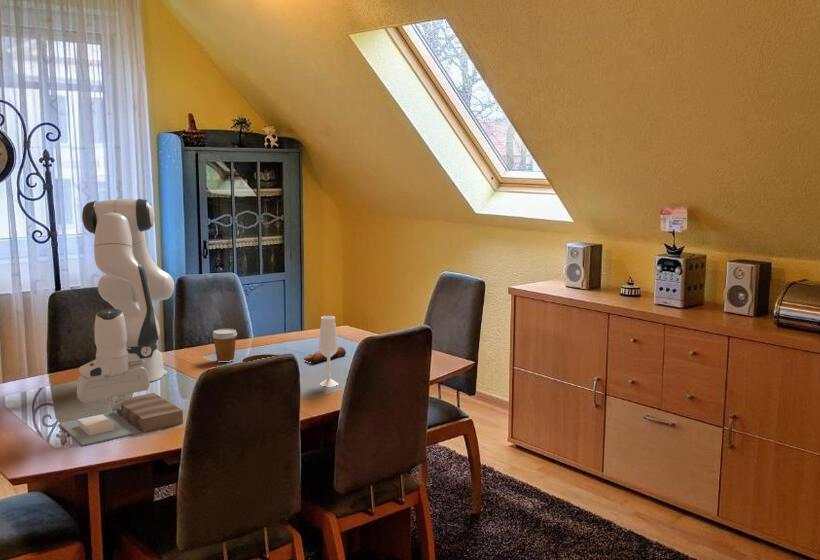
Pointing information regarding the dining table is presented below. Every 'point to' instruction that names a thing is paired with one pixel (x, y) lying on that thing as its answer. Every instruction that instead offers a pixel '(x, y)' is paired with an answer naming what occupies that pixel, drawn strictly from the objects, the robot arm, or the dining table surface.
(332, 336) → the champagne flute
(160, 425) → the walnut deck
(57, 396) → the dining table surface
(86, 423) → the cream flat block
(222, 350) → the disposable coffee cup
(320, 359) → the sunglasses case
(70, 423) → the grey mat
